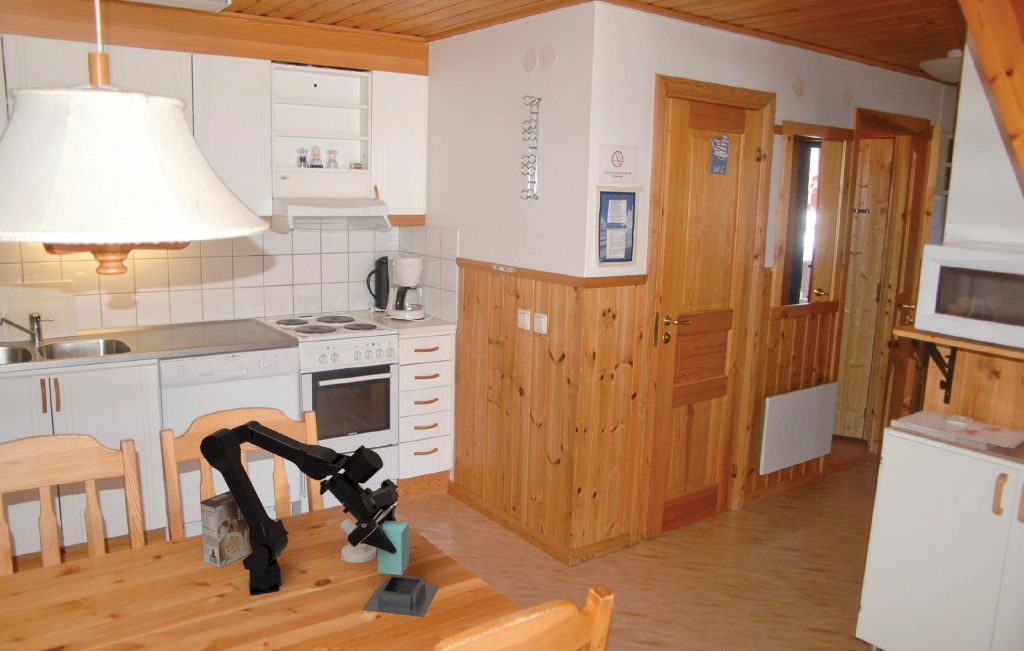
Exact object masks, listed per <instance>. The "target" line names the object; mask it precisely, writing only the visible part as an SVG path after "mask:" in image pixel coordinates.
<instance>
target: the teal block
mask: <svg viewBox="0 0 1024 651" xmlns="http://www.w3.org/2000/svg"><path fill="white" fill-rule="evenodd" d="M383 532H384V533H385V534H386V536H387V537H388V538H389V540H390V541H391V542H392V544H393V545H394V547H395V548H396V550H397V551H396V552H395V553H394V554H393V553H390V552H387V551H385V550H382V549H379V548H377V573H378V574H385V575H387V574H388V575H401V576H403V574H404V572H405V570H406V569H407V567H409V564H410V558H409V557H410V556H409V555H410V551H409V550H410V523H409V522H408V521H397V520H396V521H387V520H385V522H384V523H383Z"/></svg>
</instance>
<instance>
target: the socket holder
mask: <svg viewBox="0 0 1024 651" xmlns="http://www.w3.org/2000/svg"><path fill="white" fill-rule="evenodd" d="M440 586H441V585H437V584H427V583H426V578H422V577H420V576H419V577H418V576H410V575H395V574H388V576H387V578H386V579H381V582H380V583H378V586H377V587H376V588H375V590H374V591H373V593H372V594H371V596H370V597H369V599H368V600H367V602H366V603H365V604H364V606H363V608H362V609H361V611H363V612H364V611H365V612H374V613H384V614H393V615H402V616H408V617H409V616H411V617H418V618H419V617H420V618H424V617H425V615H426V613H427V611H428V609H429V607H430V606H431V604H432V602H433V601H434V598H435V597H436V594H437V592H438V590H439V589H440Z"/></svg>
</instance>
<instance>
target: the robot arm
mask: <svg viewBox="0 0 1024 651" xmlns="http://www.w3.org/2000/svg"><path fill="white" fill-rule="evenodd" d="M244 443H248V444H250V445H253V446H255V447H257V448H261V449H262V450H265V451H266V452H269V453H271V454H273V455H276V456H278V457H280V458H283V459H284V460H286V461H289V462H291V463H292V464H294V465H295V466H296V467H297V469H298V470H299V471H300V472H301V473H302V474H304V475H306V476H307V477H309V478H310V479H312V480H314V481H320V483H319V487H320V489H319V495H320V496H324V494H326V492H327V491H329V492H330V493H331V495H332V496H334V498H335V499H337V500H338V502H339V503H340V504H341V505H342V506H343V507H344V509H343V510H342V512H343V513H344V514H345V515H346V514H347V513H350V515H351V516H352V517H353V518H354V519H355V520H356V522H355V523H354V524H355V525H356V526H357V527H356V528H354V529H353V531H352V532H351V533H350V534H349V535H347V542H348V543H349V544H351V545H352V546H353V547H355V546H357V545H358V544H359V543H360V544H367V545H370V546H373V547H376V549H378V548H379V549H382V550H385V551H387V552H390V553H393V554H394V553H395V552H396V551H397V550H396V548H395V547H394V545H393V544H392V542H391V541H390V540H389V538H388V537H387V536H386V534H385V533H384V532H383V523H384V522H385V520H387V521H397V519H396V517H395V516H396V515H395V513H396V508H397V507H396V506H397V505H395V504H396V503H397V501H398V500H399V497H400V495H399V493H398V491H397V490H398V488H399V486H398V485H397V484H395V482H394V481H392V480H391V479H390V478H387V479H384V480H383V481H382V482H381V483H380V487H378V488H377V489H375V490H372V489H371V488H370V487H367V486H366V487H365V488H363V486H361V485H364V484H366V483H367V482H368V481H369V480H370V479H372V478H373V476H375V475H376V474H377V473H378V472H379V471H380V470H381V469H383V467H384V461H383V460H382V457H381V456H380V455H379V453H377V451H374V450H373V449H370V448H369V447H367V448H366V446H365V445H364V444H361V445H360V446H358V448H357V449H356V450H354V452H353V454H352V455H350V454H349V455H348V454H343V453H340V452H336V450H334V449H333V448H332V447H327V446H324V445H319V444H307V443H304V442H301V441H299V440H297V439H294V438H292V437H290V436H287V435H285V434H283V433H281V432H278V431H277V430H274V429H272V428H270V427H268V426H264V425H262V424H261V423H260V422H259V421H257V420H249V421H247V422H245V423H244V424H240V425H239V426H236V427H233V428H231V429H230V428H227V427H224V428H220V429H217V430H216V431H214V432H212V433H210V434H208V435H206V436H205V437H203V438H202V440H201V442H200V445H199V450H200V453H201V455H202V456H203V458H204V459H205V460H206V462H207V463H208V464H209V466H211V467H212V468H214V469H215V470H216V471H218V472H219V473H220V474H221V476H222V477H223V480H224V482H225V484H226V486H227V487H228V491H230V492H231V494H232V496H233V498H234V500H235V502H236V504H237V506H238V508H239V509H240V511H241V513H242V515H243V517H244V519H245V521H246V523H247V525H248V543H249V546H250V547H249V548H250V549H251V552H249V555H247V556H245V557H244V559H243V560H242V565H243V567H244V570H248V575H249V578H248V579H249V580H248V589H249V590H248V591H249V596H250V595H251V596H253V595H258V594H259V595H260V594H265V593H266V594H267V593H273V592H278V591H280V585H281V584H282V578H281V564H280V563H278V557H280V556H281V555H282V552H284V550H285V549H286V548H287V547H288V544H289V538H288V535H289V534H290V533H289V532H288V530H286V528H285V526H284V524H283V521H282V519H280V518H279V519H278V520H276V521H275V520H274V519H272V518H271V517H270V516H269V515H268V513H267V511H266V509H265V507H264V504H263V503H262V501H261V499H260V496H258V495H259V494H258V493H257V491H256V489H255V486H254V485H253V483H252V481H251V479H250V478H249V475H248V473H247V471H246V469H245V468H244V466H243V463H242V448H241V445H243V444H244ZM342 470H343V472H342V473H341V472H340V471H342ZM329 476H331V477H330V478H328V479H326V478H327V477H329ZM391 506H393V507H392V508H391Z"/></svg>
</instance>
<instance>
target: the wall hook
mask: <svg viewBox="0 0 1024 651" xmlns="http://www.w3.org/2000/svg"><path fill="white" fill-rule="evenodd" d="M355 524H356V523H354V522H353V521H352V520H351V518H346V519H344V520H343V521H342V522H341V523H340V526H339V527H340V529H341V530H342V531H343V532H344V533H345V534H346V535H347V536H348V535H349V534H350V533H351V532H352V531H353V529H354V528H356V527H357V526H356V525H355ZM340 555H341V559H340V560H341V561H343V560H344V561H345V562H348V563H354V564H355V563H364V562H369V561H371V560H373V559H374V558H376V556H377V548H376V547H373V546H370V545H367V544H360V543H359V544H358V545H357V546H355V547H353V546H352V545H351V544H350V543H349V544H346V545H345V546H344V547H342V549H341V554H340Z"/></svg>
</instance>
